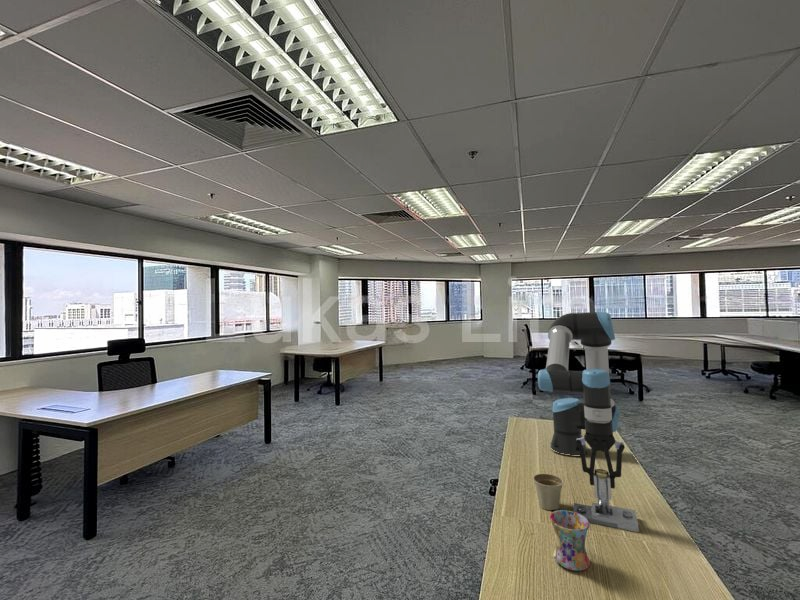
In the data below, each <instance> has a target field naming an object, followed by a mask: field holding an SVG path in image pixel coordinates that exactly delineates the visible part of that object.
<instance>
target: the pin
mask: <svg viewBox="0 0 800 600" xmlns="http://www.w3.org/2000/svg"><path fill="white" fill-rule="evenodd" d="M594 473H595V475H596V477H597V494H598V498H597V504H598V511H599V512H601V513H603V514H609V506H610V500H609V499H608V483H607V477H609V471H608V470H606V469H603V468H594Z"/></svg>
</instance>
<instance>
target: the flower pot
mask: <svg viewBox="0 0 800 600" xmlns="http://www.w3.org/2000/svg"><path fill="white" fill-rule="evenodd" d="M532 480H533V482H534V485H535V489H536V493H537V494H536V495H537V499H538V505H539V506H540V507H541V508H542V509H544V510H547V511H553V510H554V511H558V510H559V509H560V503H561V491H562V487H563V485H564V480H563V478H561V477H559V476H557V475H554V474H551V473H543V472H542V473H537V474H535V475H533V476H532Z"/></svg>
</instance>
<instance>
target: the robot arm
mask: <svg viewBox="0 0 800 600" xmlns="http://www.w3.org/2000/svg"><path fill="white" fill-rule="evenodd" d="M547 337H548V340H549V343H548V349H547V358H546V365H545V368H544V369H540V370H539V371H538V373H537V385H538V389H539V390H540V391H544V392H550V393H565V394H566V393H568V394H569V393H571V394H583V402H581V401H580V399H578V398H574V397H567V398H566V397H565V398H558V399H556V400H554V401H553V403H552V418H553V420H552V421H553V422H552V423H553V435H552V439H551V442H550V449H551V448H552V449H553V450H555V451H557V452H559V453H564V454H570V455H580V456H579V457H580V461H581V467H582V468H581V469H582V472H583V473H587V474H588V475H589V484H590V486H594V498H595V499H598V494H597V477H596V475H595V471H594V470H595V466H596V457H597V452H604V457H605V462H606V465H607V471H608V472H609V477H607V483H608V499H609V501H610V502H611V501H612V490H613V489H614V490H615V489H616V484H615V478H621V477H622V465H623V464H622V463H623V460H622V459H623V452H624V450H625V447H626V446H625V444H624V442H622V441H621V442H620V441H617V440H616V438H615V436H614V433H616V432H617V431H618V428H619V422H620V419H619V418H620V409H619V408H620V407H619V405H617V404H616V403H615V401H614V399H612V398H611V397H612V396H611V379H610V370H609V369H610V367H609V351H608V349H609V347H610V346H611V345H612V341H614V340H616V336H615V331H614V325H613V320H612V317H611V314H610V313H608V312H606V311H605V312H604V311H602V312H599V311H594V312H589V311H588V312H569V313H565V314H563V315H560V316H559V317H557V318H556V319H555V320H554V321H553V322H552V323H551V324H550V327H549V328H548V333H547ZM573 340H575V341H580V345H581V346H583V347H584V353H585V368H586V369H584V370H569V361H570V360H569V359H570V343H571V341H573ZM582 430H585V433H584V435H583V434H582ZM586 443H587V445H589V447H590V448H591V451H590V462H589V467H588V465H587V464H588V463H587V459H586V455H585V453H586V452H587V453H588V448H587V445H586ZM613 446H614V447H615V449H616V461H615V470H614V467H613V465H612V459H611V455H610V454H611V453H610V449H611V448H612V447H613Z"/></svg>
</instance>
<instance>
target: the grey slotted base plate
mask: <svg viewBox="0 0 800 600" xmlns="http://www.w3.org/2000/svg"><path fill="white" fill-rule="evenodd" d="M572 512H576V513H578V514H580V515H582V516H584V517H585V518H586V519H587V520H588V521H589V524H590V523H591V524H594V525H595V524H596V525H598V526H599V525H600V526H604V527H609V528H613V529H614V528H615V529H620V530H623V531H624V530H626V531H630V532H633V533H634V532H635V533H640V531H639V522H638V517H637V513H636V509H629V508H625V507H618V506H613V505H609V514H603V513H601V512H599V511H598V502H597V503H596V502H591V505H587V504H582V503H575V502H574V503H573V511H572Z"/></svg>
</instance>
